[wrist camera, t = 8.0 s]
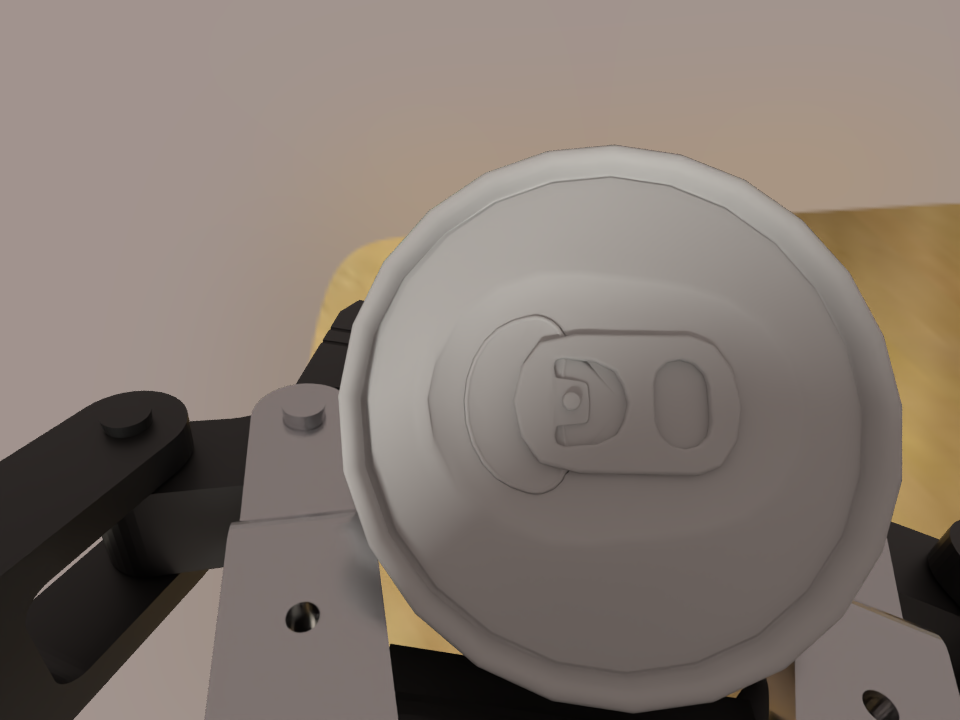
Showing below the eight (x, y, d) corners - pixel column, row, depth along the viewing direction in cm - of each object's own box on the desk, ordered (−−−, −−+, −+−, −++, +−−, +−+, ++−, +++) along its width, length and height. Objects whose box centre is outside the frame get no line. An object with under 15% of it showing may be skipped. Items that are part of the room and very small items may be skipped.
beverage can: (427, 370, 17) (338, 121, 5) (592, 373, 17) (884, 135, 5) (421, 543, 16) (295, 735, 4) (596, 545, 16) (967, 738, 4)
